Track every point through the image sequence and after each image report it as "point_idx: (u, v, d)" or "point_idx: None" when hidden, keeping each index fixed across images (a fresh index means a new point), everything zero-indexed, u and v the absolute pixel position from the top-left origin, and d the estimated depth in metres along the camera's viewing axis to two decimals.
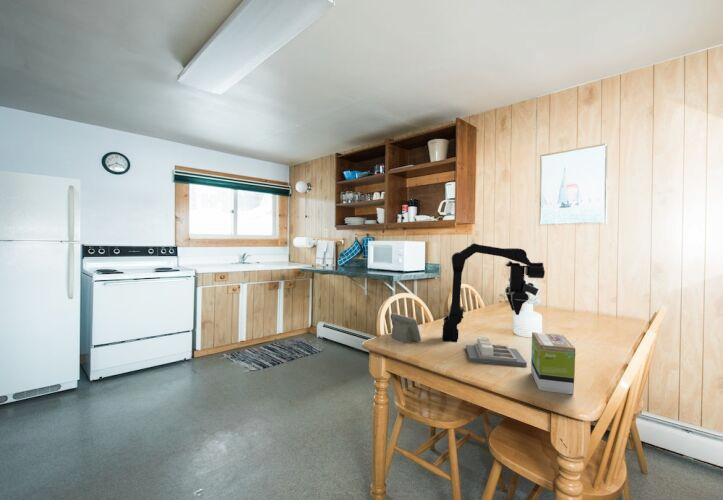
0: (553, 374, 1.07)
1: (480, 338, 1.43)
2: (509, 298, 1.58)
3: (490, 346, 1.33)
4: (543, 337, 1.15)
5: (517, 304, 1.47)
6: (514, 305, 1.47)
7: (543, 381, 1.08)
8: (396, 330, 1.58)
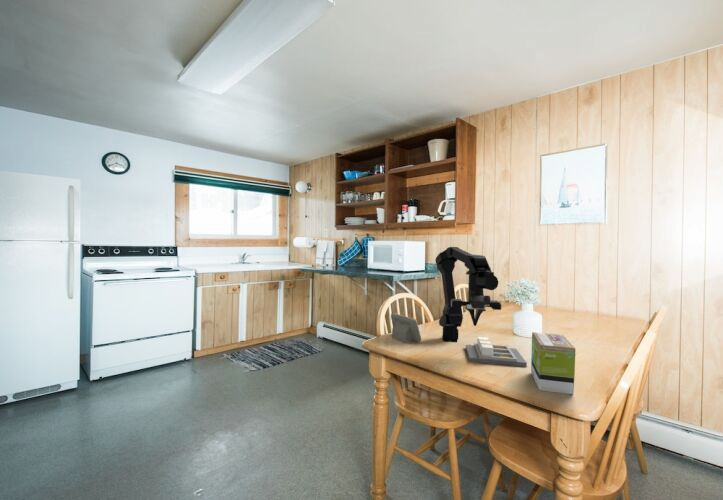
0: (553, 374, 1.07)
1: (480, 338, 1.43)
2: None
3: (490, 346, 1.33)
4: (544, 337, 1.15)
5: None
6: (470, 314, 1.42)
7: (543, 381, 1.08)
8: (396, 330, 1.58)
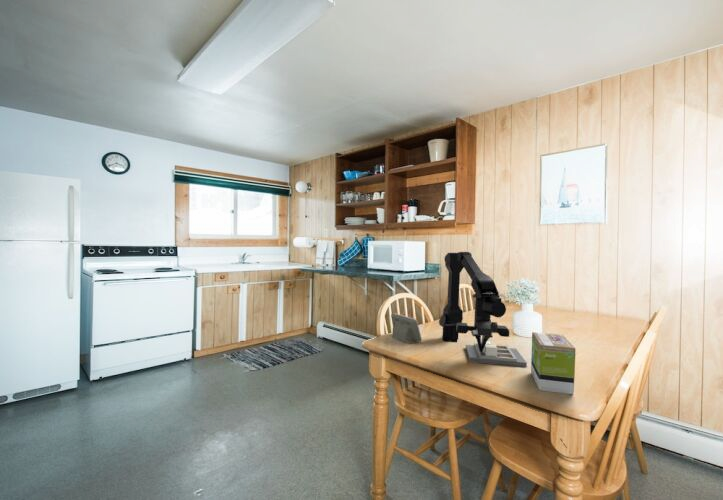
0: (553, 374, 1.07)
1: None
2: (482, 336, 1.35)
3: (494, 346, 1.32)
4: (544, 337, 1.15)
5: None
6: None
7: (543, 381, 1.08)
8: (397, 330, 1.58)
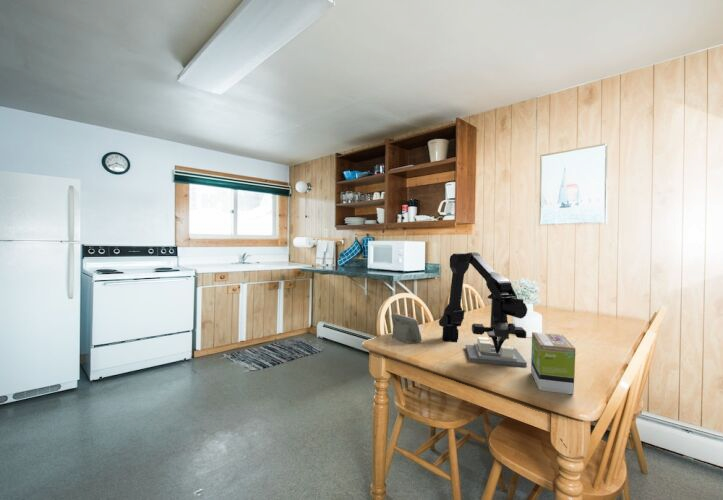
0: (553, 374, 1.07)
1: (480, 338, 1.43)
2: (498, 338, 1.34)
3: (510, 348, 1.31)
4: (544, 337, 1.15)
5: None
6: (492, 340, 1.34)
7: (543, 381, 1.08)
8: (397, 330, 1.58)
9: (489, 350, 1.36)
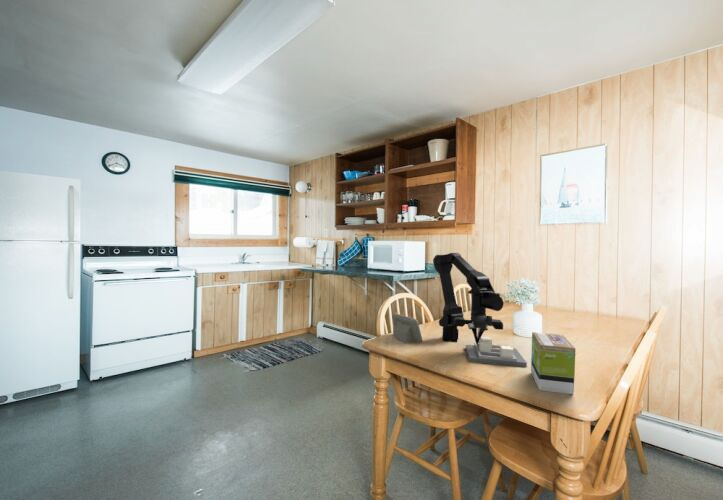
0: (553, 374, 1.07)
1: (483, 338, 1.42)
2: (478, 329, 1.45)
3: (510, 348, 1.31)
4: (544, 337, 1.15)
5: None
6: None
7: (543, 381, 1.08)
8: (397, 330, 1.58)
9: (489, 350, 1.36)
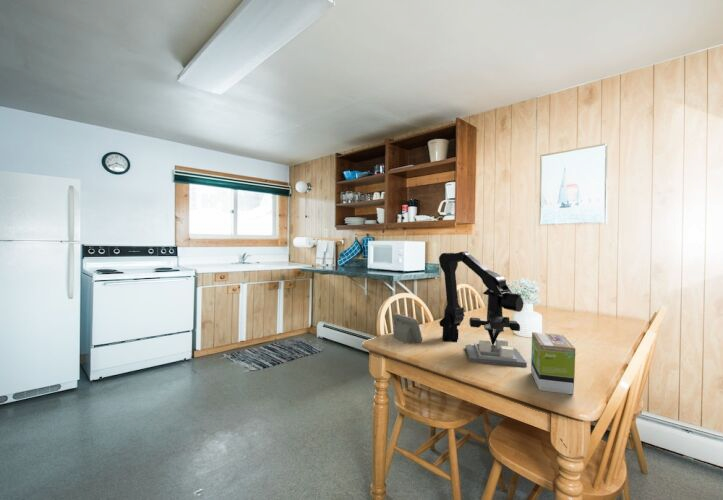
0: (553, 374, 1.07)
1: (499, 339, 1.41)
2: (493, 331, 1.44)
3: (510, 348, 1.31)
4: (543, 337, 1.15)
5: None
6: None
7: (543, 381, 1.08)
8: (398, 330, 1.58)
9: (489, 350, 1.36)
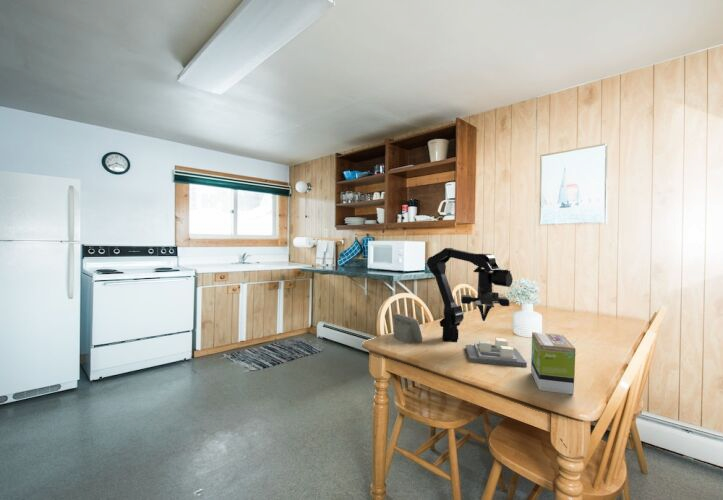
0: (553, 374, 1.07)
1: (498, 339, 1.41)
2: None
3: (510, 348, 1.31)
4: (544, 337, 1.15)
5: None
6: (479, 309, 1.48)
7: (543, 381, 1.08)
8: (398, 330, 1.58)
9: (489, 350, 1.36)
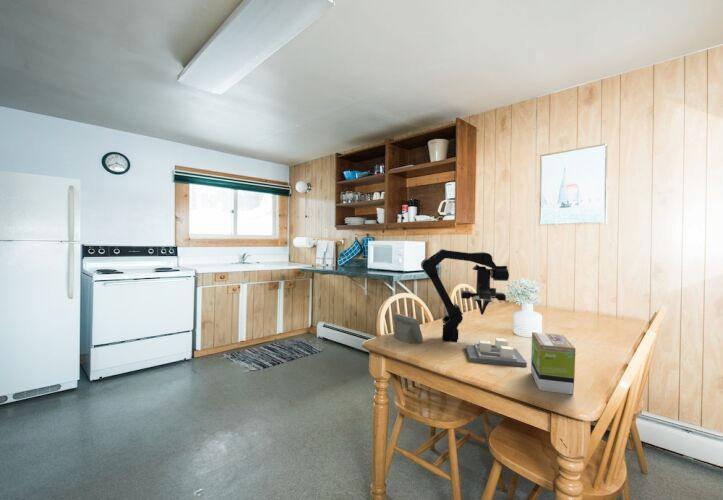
0: (553, 374, 1.07)
1: (498, 339, 1.41)
2: (483, 302, 1.59)
3: (510, 348, 1.31)
4: (544, 337, 1.15)
5: None
6: (478, 304, 1.60)
7: (543, 381, 1.08)
8: (398, 330, 1.58)
9: (489, 350, 1.36)
